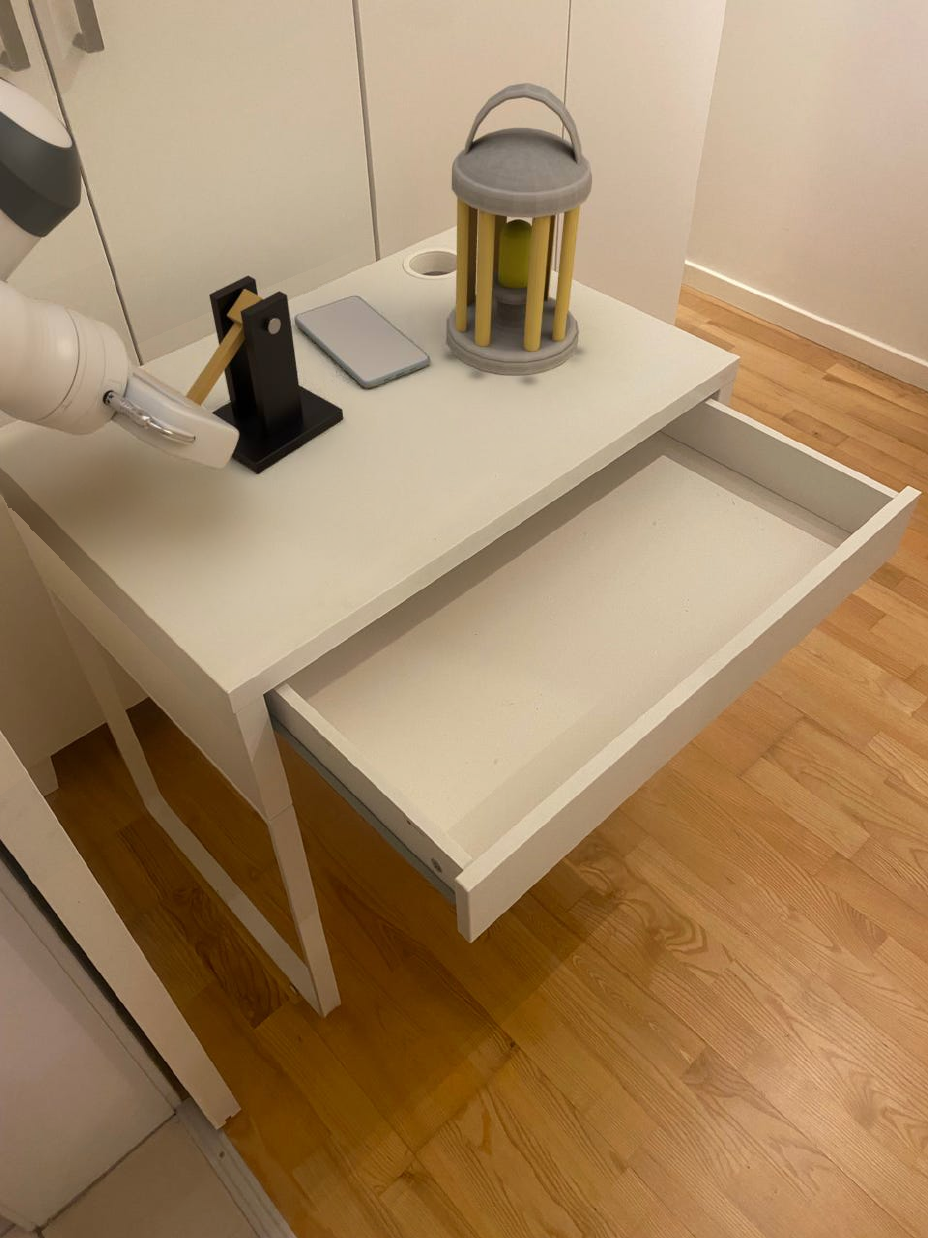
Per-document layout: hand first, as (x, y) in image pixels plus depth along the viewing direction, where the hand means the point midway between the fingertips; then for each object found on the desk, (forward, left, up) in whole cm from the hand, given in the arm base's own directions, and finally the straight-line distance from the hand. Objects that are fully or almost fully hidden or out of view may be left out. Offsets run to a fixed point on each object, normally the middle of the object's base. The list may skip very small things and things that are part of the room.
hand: (197, 416), depth 84 cm
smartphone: (+17, +16, -5) cm, 24 cm away
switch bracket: (+6, +4, -5) cm, 9 cm away
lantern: (+33, +14, -5) cm, 36 cm away
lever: (+4, +2, +3) cm, 5 cm away
